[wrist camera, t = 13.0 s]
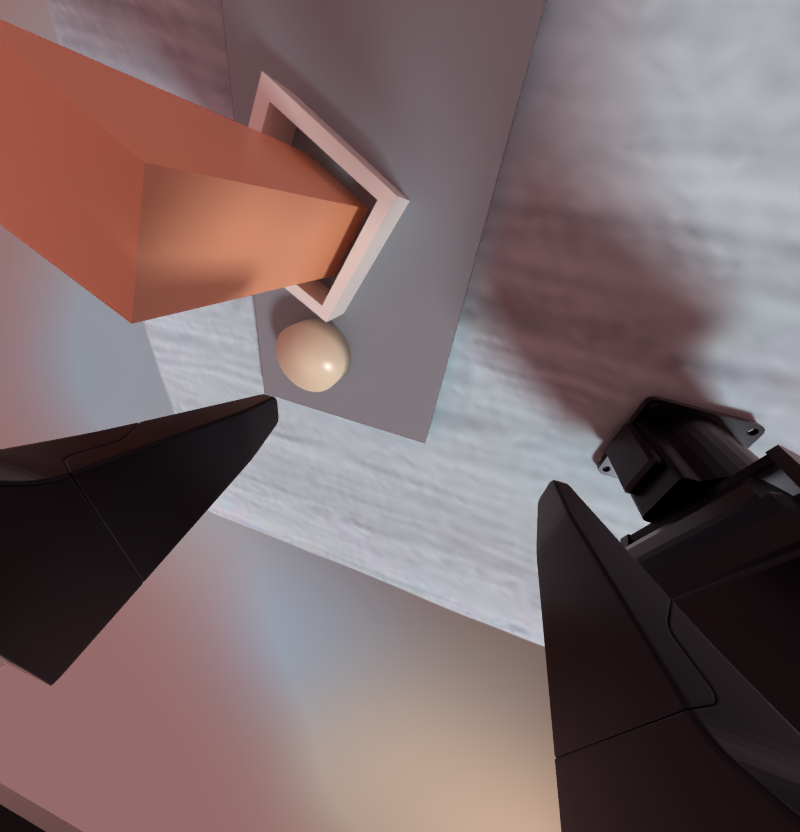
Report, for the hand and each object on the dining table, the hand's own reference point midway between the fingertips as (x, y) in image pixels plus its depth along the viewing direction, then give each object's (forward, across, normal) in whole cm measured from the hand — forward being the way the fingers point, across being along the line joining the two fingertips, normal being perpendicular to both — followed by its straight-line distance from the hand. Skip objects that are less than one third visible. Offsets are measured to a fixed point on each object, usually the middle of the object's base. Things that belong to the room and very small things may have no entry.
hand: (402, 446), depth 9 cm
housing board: (+13, +7, -5) cm, 16 cm away
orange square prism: (+12, +9, -5) cm, 16 cm away
